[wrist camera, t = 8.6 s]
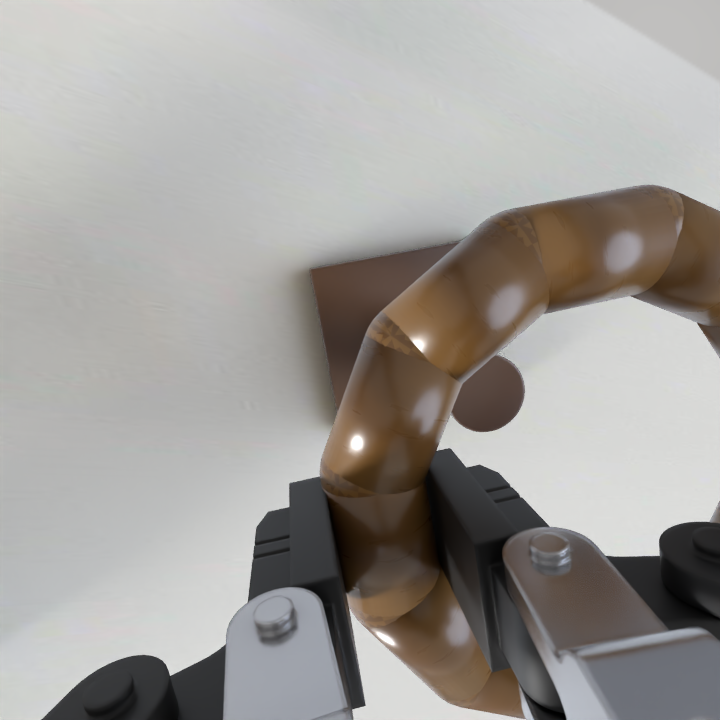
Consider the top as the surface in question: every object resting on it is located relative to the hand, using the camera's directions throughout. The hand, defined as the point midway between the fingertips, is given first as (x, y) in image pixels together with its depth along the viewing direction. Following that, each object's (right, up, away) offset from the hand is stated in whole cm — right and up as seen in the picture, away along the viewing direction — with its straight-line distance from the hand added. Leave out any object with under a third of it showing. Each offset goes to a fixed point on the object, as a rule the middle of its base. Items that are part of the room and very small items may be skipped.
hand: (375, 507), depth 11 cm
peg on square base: (+2, +5, +18) cm, 18 cm away
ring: (+5, +1, 0) cm, 5 cm away
